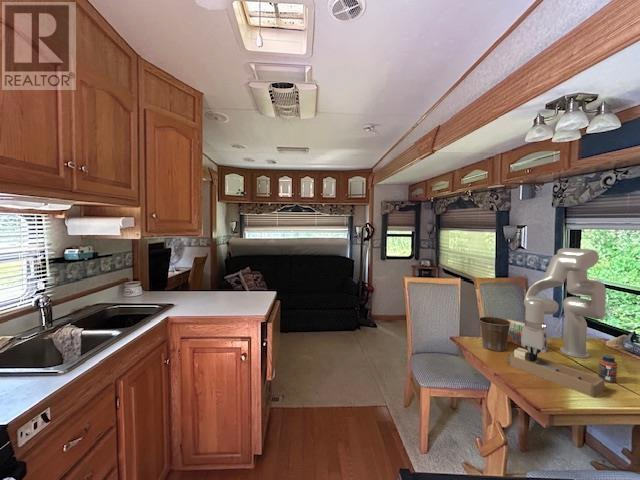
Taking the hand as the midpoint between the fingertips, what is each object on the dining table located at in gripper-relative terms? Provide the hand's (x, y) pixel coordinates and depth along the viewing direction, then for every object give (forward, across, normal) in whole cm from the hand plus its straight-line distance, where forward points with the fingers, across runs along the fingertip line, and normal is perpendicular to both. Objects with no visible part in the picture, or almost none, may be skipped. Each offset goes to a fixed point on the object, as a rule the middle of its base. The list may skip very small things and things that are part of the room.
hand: (532, 360), depth 150 cm
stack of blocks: (+4, +18, -30) cm, 35 cm away
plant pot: (+5, +25, -11) cm, 28 cm away
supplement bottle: (+4, -23, -18) cm, 30 cm away
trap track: (+4, -8, 0) cm, 9 cm away
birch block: (+2, +5, 0) cm, 5 cm away
